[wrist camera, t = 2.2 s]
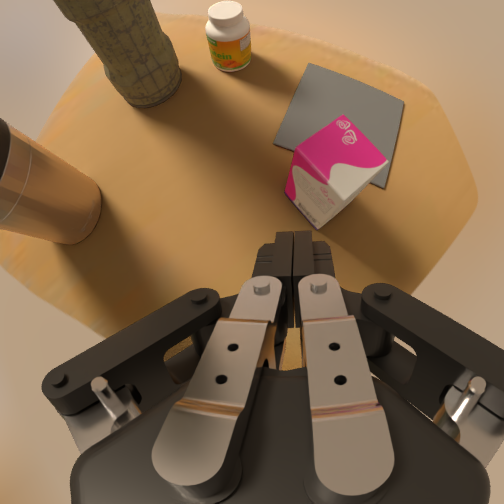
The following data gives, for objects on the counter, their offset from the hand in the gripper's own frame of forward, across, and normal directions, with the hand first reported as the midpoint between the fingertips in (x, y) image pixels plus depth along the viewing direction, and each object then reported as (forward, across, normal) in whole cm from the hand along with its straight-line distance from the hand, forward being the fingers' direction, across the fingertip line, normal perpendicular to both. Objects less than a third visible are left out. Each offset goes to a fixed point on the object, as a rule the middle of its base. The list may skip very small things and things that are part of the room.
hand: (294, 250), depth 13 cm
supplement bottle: (+32, +8, -13) cm, 35 cm away
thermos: (+29, +18, -11) cm, 36 cm away
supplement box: (+22, -2, +5) cm, 22 cm away
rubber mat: (+28, -6, -3) cm, 29 cm away
